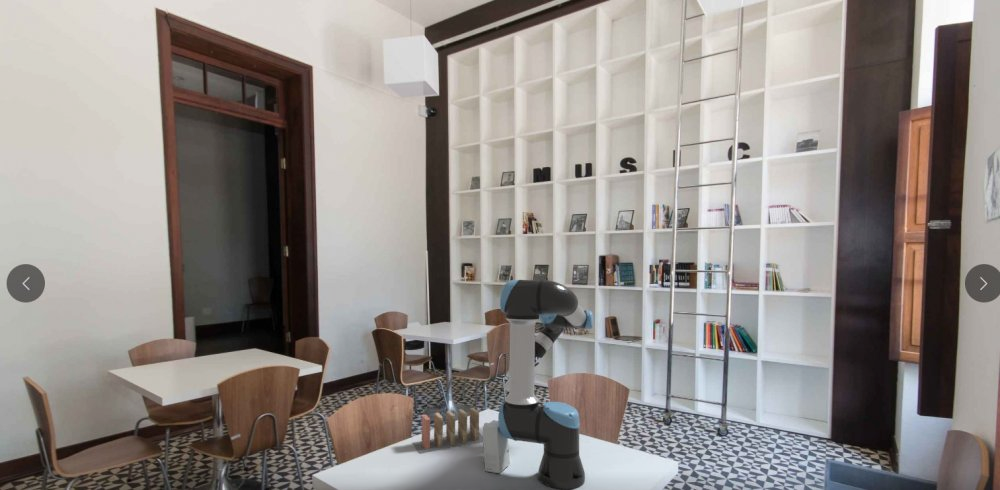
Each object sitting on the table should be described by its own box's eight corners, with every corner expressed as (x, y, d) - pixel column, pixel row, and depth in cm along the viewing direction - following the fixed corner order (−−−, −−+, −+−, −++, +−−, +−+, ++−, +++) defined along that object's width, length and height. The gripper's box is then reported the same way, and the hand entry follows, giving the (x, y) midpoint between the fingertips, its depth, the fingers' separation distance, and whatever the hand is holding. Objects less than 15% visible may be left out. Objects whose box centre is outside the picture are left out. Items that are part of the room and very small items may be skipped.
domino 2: (437, 441, 174) (438, 412, 175) (442, 446, 169) (442, 417, 170) (433, 441, 174) (434, 413, 174) (438, 447, 168) (438, 418, 169)
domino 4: (461, 437, 179) (461, 409, 179) (467, 442, 173) (467, 413, 174) (457, 437, 178) (458, 409, 179) (463, 443, 173) (463, 414, 173)
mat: (478, 432, 184) (478, 431, 184) (488, 442, 175) (488, 441, 175) (411, 443, 173) (411, 442, 173) (419, 454, 163) (419, 453, 163)
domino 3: (450, 438, 177) (450, 410, 177) (455, 444, 171) (455, 415, 172) (446, 439, 176) (446, 411, 176) (451, 445, 170) (451, 416, 171)
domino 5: (473, 435, 181) (473, 407, 181) (478, 440, 175) (479, 412, 176) (469, 435, 180) (469, 408, 181) (475, 440, 175) (475, 412, 175)
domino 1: (425, 443, 172) (425, 414, 173) (429, 448, 167) (430, 419, 167) (421, 443, 172) (421, 415, 172) (425, 449, 166) (426, 419, 167)
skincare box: (500, 474, 147) (497, 428, 148) (484, 471, 150) (481, 426, 151) (510, 463, 155) (507, 420, 156) (494, 461, 157) (492, 418, 158)
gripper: (553, 354, 188) (518, 399, 180) (538, 348, 199) (504, 390, 192) (542, 342, 186) (506, 387, 178) (527, 337, 197) (493, 379, 190)
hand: (505, 389), depth 185 cm, fingers closed
